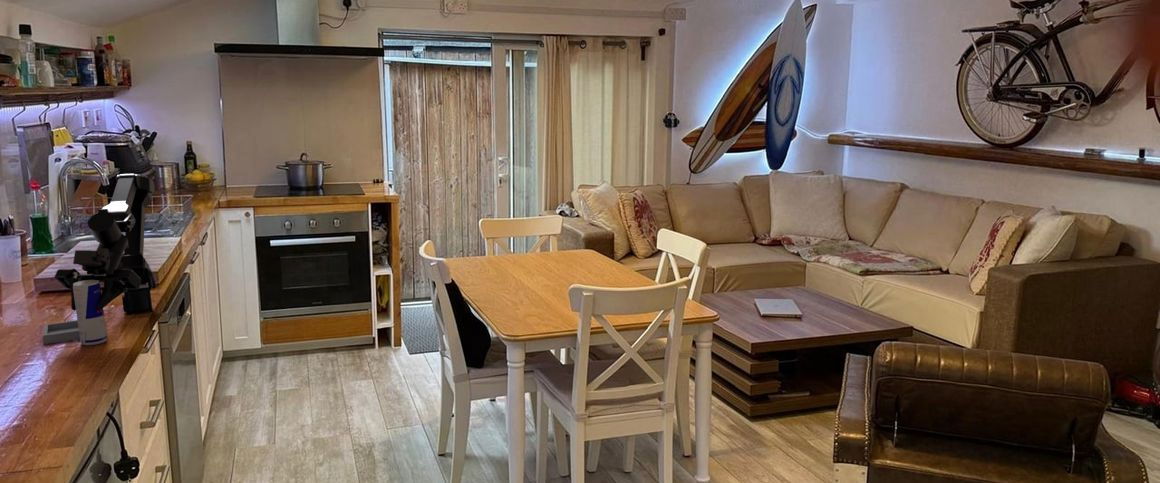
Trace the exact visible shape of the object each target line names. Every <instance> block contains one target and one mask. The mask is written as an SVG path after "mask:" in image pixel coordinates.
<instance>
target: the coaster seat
mask: <svg viewBox="0 0 1160 483" xmlns="http://www.w3.org/2000/svg"><path fill="white" fill-rule="evenodd" d="M42 339H43V345H47V344H48V345H49V344H54V343H62V342H68V341H74V340H80V335H79V328H78V321H77V319H75V320H74V319H73V320H68V321H60V322H52V323H46V324H44V326H43V331H42Z"/></svg>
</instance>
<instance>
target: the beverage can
mask: <svg viewBox="0 0 1160 483" xmlns="http://www.w3.org/2000/svg"><path fill="white" fill-rule="evenodd" d="M73 293H74V300H75V307H76V310H75V314H76V320H77V321H78V328H79V335H80V339H79V341H80V344H81V345H83V346H90V347H91V346H97V345H101V344H103V343H105V342H107V341H108V335H107V334H108V333H107V327H106V319H105V312H104V308H103V309H101V310H100V311H98V310H97V309H96V308H97V304H98V301H99V298H100V296H101V294H102V289H101V284H100V283H99V281H98V280H85V281H79V282H76V283H74V284H73Z"/></svg>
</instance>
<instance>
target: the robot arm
mask: <svg viewBox="0 0 1160 483" xmlns="http://www.w3.org/2000/svg"><path fill="white" fill-rule="evenodd" d="M115 179H116V185H115V187H114V191H113V194H112V197H111V200H110V203H108V204H107V205H105V206H103V207H102V208H98V211H97V213H95V214H93V215H92V216H91V217H90V218H89V219H88V220H87V226H88V229H89V230H90V232H91V234H92V235H93V237H94V240H95V241H96V243H99V244H98V245H97V248H96V250H91V249H90V250H89V249H86V250H85V249H84V250H82V249H81V250H80V249H77V250H74V256H73V262H72V264H73V265H79V266H81V270H83V271H84V272H86V273H80V272H79V271H78V270H77V269H76V268H74V267H73V268H72V267H71V268H69V267H68V268H63V267H62V268H58V269H57V270H56V272H55V275H54V279H55V280H56V281H57V282H59V283H60V284H61V286H63V287H65V289H68V290H70V292H71V293H70V298H71V300H70V305H71V306H70V308H71V310H73V311H75V312H76V307H75V300H74V293H73V284H74V283H76V282H79V281H85V280H98V281H99V284H100V283H101V284H103V288H102V290H101V296H100V298H99V301H98V304H97V308H96V309H97V310H98V311H100V310H101V309H103V310H104V308H105V307H107V306H108V305H109V303H111V302H112V301H113V300H115V299H117V298H118V297H119V296H121V301H122V302H121V303H122V309H123V312H124V313H125V315H126V316H131V315H138V314H145V313H151V312H152V313H153V312H154V308H153V301H152V295H151V290H153V289H156V288H157V280H156V278H155V275H154V273H153V271H152V268H150V264H149V263H148V261H147V260H146V259H145V257H144V247H145V246H144V244H145V218H146V208H147V207H149V205H150V204H151V203H152V201H153V194H155V192H156V190H155V181H154V180H153V179H152V178H151V177H148V176H141V175H139V174H138V173H120V174H117V176H116V178H115Z"/></svg>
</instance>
